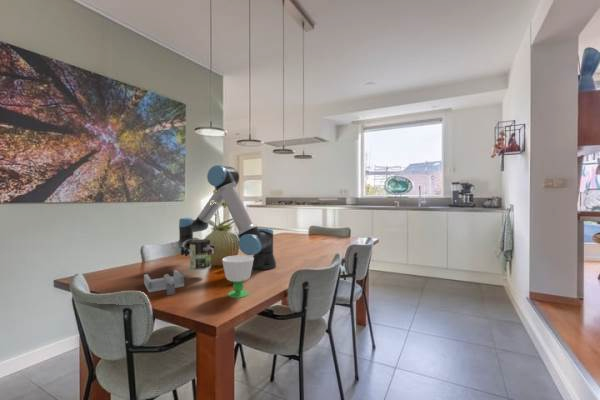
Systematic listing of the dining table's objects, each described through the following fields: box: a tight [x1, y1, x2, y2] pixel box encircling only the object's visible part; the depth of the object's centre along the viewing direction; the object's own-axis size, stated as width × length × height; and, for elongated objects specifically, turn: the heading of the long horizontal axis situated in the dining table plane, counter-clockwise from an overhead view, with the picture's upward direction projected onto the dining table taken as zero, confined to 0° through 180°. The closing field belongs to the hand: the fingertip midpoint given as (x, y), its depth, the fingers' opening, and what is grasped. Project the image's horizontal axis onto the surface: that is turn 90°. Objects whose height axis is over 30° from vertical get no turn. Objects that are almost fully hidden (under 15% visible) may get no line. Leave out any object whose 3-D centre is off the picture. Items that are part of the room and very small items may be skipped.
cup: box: [221, 254, 254, 299], centre depth 129 cm, size 14×14×16 cm
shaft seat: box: [143, 269, 185, 296], centre depth 138 cm, size 24×15×7 cm, turn 35°
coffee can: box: [189, 239, 212, 271], centre depth 154 cm, size 10×10×14 cm
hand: (202, 252), depth 150 cm, fingers closed on coffee can, 10 cm apart
